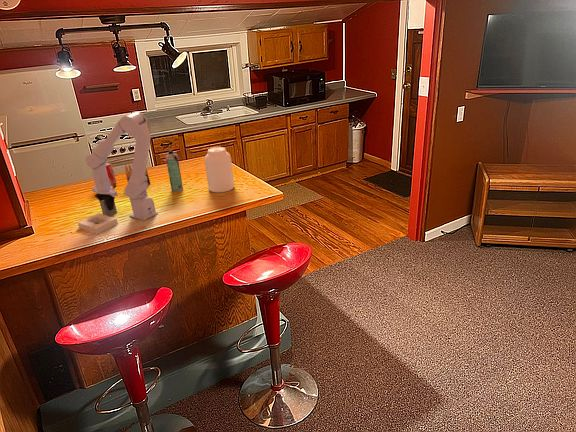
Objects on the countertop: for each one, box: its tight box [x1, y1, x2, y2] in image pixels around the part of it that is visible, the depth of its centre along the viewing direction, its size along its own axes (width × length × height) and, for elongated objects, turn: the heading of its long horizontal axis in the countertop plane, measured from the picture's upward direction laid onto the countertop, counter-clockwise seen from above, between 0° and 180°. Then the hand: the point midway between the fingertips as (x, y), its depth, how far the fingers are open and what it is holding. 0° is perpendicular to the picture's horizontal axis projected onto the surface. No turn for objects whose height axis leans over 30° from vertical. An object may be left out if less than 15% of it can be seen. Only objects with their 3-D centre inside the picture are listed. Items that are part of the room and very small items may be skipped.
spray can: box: [165, 149, 184, 193], centre depth 205 cm, size 6×6×20 cm
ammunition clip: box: [124, 162, 151, 185], centre depth 215 cm, size 11×2×12 cm, turn 114°
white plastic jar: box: [204, 146, 235, 193], centre depth 204 cm, size 12×12×20 cm
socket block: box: [77, 212, 119, 235], centre depth 176 cm, size 12×10×2 cm
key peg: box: [99, 200, 118, 217], centre depth 186 cm, size 3×5×7 cm, turn 148°
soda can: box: [105, 161, 117, 188], centre depth 215 cm, size 7×7×12 cm
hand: (108, 208), depth 186 cm, fingers closed on key peg, 3 cm apart
